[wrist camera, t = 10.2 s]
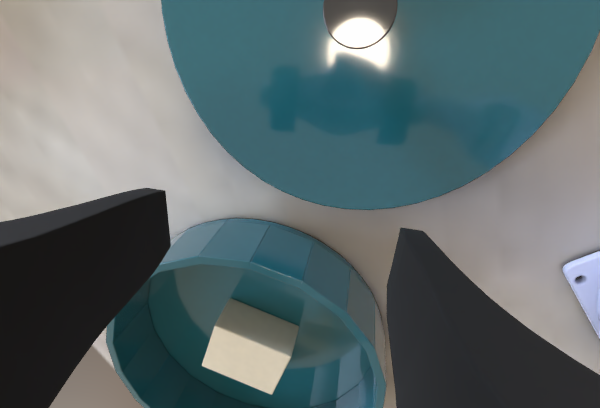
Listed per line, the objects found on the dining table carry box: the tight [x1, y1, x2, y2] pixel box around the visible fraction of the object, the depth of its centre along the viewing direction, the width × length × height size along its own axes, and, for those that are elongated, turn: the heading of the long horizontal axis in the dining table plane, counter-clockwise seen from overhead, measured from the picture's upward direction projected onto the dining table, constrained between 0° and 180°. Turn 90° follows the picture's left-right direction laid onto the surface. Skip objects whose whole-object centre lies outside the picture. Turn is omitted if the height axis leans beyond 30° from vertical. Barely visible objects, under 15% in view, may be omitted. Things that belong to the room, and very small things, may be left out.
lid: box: [161, 0, 600, 210], centre depth 13 cm, size 18×18×5 cm
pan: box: [106, 218, 387, 408], centre depth 23 cm, size 17×17×4 cm
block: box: [202, 298, 299, 395], centre depth 23 cm, size 4×5×3 cm
